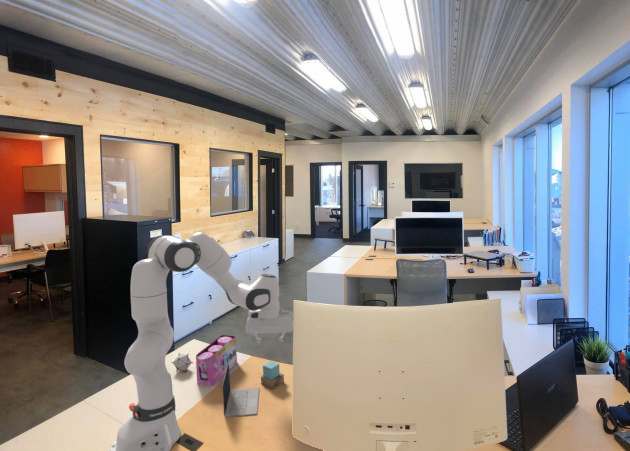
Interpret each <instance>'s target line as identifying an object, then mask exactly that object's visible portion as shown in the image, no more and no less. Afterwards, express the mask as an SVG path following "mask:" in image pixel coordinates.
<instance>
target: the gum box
mask: <svg viewBox="0 0 630 451" xmlns="http://www.w3.org/2000/svg"><path fill="white" fill-rule="evenodd" d="M236 340H237V339H236V335H228V334H221V335H219V336H218V337H217V338H216V339H214V341H213V342H211V343H209V344H208V345H207V346H206V347H204V348H203V349H202V350H201V351H199V352H198V353H197V354H196V355H195V365H196V366H195V368H196V370H195V371H196V383H197V384H196V385H202V386H207V387H213V386H214V385H215V384H217V383H218V382H219V381H220V379H222V378H223V377H225V373H226V369H227V365H228V363H229V371H231V369H232V368H233V367H234V366H235V365H236V364H238V357H237V356H238V355H237V354H238V353H237V341H236Z"/></svg>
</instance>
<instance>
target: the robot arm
mask: <svg viewBox="0 0 630 451" xmlns="http://www.w3.org/2000/svg"><path fill="white" fill-rule="evenodd" d="M195 265H196V266H197V267H198V268H199V269H200V270H201V271H202V272H204V273H205V274H206V275H208V276H209V277H211V278H212V279H213V280H214V281H216V283H218V285H219V286H220V287H221V288H222V289H223V290H224V292H225V294H226V297H227V300H228V301H229V302H230V303H231V304H233V305H236V306H239V307H242V308H244V309H247V310H248V313H247V315H248V316H247V320H246V323H245V333H246V334H247V335H253V337H255V339H256V343H257V344H261V342H262V341H261V340H262V339H261V337H260V336H258V334H261V335H262V334H280V333H281V336H279V338H278V341H279V343H283V340H284V338H285V336H286V333H292V332H293V331H294V323H293V322H294V319H293V314H294V312H293V311H291V310H280V308H281V306H280V301H279V298H280V286H279V285H280V284H279V279H278V277H277V276H276V275H273V274H268V273H263V274H259V277H258V279H256V280H255V281H254V282H253V283H251V284H249V283H246V282H245V281H242V280H239V279H236V278H235V277H234V275H233V274H232V273H231V272H230V269H231V267H232V258H231V256H230V255H229V253H228V252H227V251H226V249H225V248H224V247H222V246H221V244H219V243H218V242H217V241H216V240H215V239H214V238H212V237H211V236H209V235H208V234H206V233H205V232H201V231H200V232H195V233H193V234H191V235H190V236H189V237H188V238H187V239H182V238H180V237H178V236H176V235H169V234H161V235H158V236H155V237H154V238H153V239H152V240H151V241H150V243H149V244H148V247H147V251H146V252H145V254H144V259H140V260H139V261H137V262H136V263H135V264H134V265H133V267H132V269H131V277H130V288H129V289H130V290H129V291H130V305H131V306H130V308H131V309H130V310H131V317H132V318H131V319H133V320H134V321H135V323H136V326H137V332H138V333H137V338H136V339H135V340H134V342H133V343H132V344H131V345H130V347H128V349H127V352H126V354H125V357H124V360H123V361H124V367H125V369H126V371H127V373H129V374H130V375H132V376H133V379H134V381H135V384H136V390H137V391H136V392H137V393H136V394H137V401H138V402H137V404H135V403H134V402H132V403H130V404H129V405H128V408H129V410H130V412H132V416H131V417H130V418H128V420H126V422H125V423H124V424H123V425H122V426H120V428H119V429H118V431H117V435H116V440H114V441H112V443H111V444H110V447H109V451H171V450H172V447H173V446H174V444H175V443H176V442H177V441H178V440H179V438H180V437H181V435H182V430H181V428H180V426H179V422H178V419H177V416H176V399H175V395H174V393H173V392H174V391H173V381H172V379H173V378H172V375H171V373H170V372H168V369H167V367H166V357H167V354H168V352H169V351H170V349H171V347H172V346H173V343H174V338H175V332H174V331H175V330H174V329H173V327H172V326H171V321H170V317H169V312H168V299H167V298H168V294H167V292H168V288H167V278H168V274H169V272H170V271H171V272H175V273H176V272H177V273H184V272H187V271H188V270H190V269H192V268H193V267H194V266H195Z"/></svg>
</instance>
